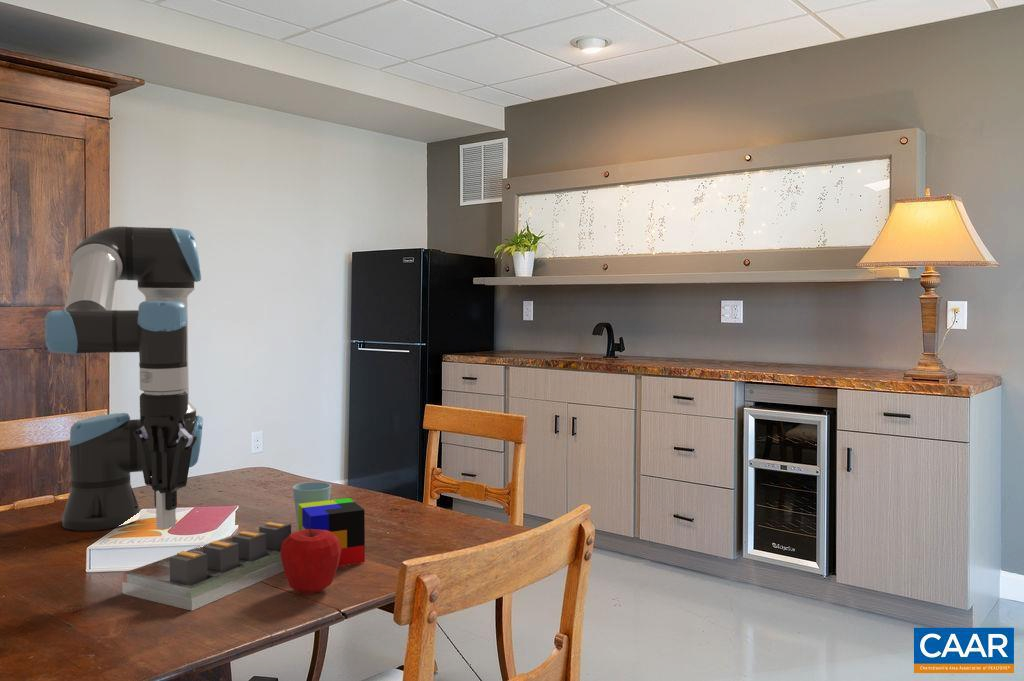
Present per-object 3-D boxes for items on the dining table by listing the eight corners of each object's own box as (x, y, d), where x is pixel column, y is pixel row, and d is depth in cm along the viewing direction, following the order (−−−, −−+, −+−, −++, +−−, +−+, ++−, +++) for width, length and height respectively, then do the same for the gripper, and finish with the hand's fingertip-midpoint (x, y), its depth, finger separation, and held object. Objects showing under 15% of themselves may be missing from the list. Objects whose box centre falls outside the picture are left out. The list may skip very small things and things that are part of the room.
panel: (122, 593, 130) (122, 572, 130) (240, 550, 154) (240, 532, 153) (191, 610, 123) (191, 588, 123) (304, 562, 146) (304, 543, 146)
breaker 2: (203, 575, 133) (202, 544, 132) (221, 568, 136) (221, 538, 136) (220, 579, 131) (220, 548, 131) (238, 572, 135) (238, 541, 134)
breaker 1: (169, 587, 127) (169, 555, 127) (190, 580, 131) (189, 548, 130) (187, 591, 125) (187, 559, 125) (207, 583, 129) (207, 552, 129)
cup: (335, 538, 161) (334, 488, 161) (296, 542, 158) (295, 491, 158) (327, 528, 168) (327, 480, 168) (291, 532, 165) (290, 483, 165)
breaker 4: (259, 553, 144) (259, 525, 144) (274, 547, 148) (274, 520, 148) (276, 557, 143) (275, 528, 142) (291, 550, 146) (291, 522, 146)
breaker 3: (232, 564, 139) (232, 534, 138) (249, 557, 142) (248, 528, 142) (249, 567, 137) (249, 537, 137) (266, 561, 140) (265, 531, 140)
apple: (284, 605, 125) (283, 538, 125) (276, 585, 134) (276, 522, 134) (346, 596, 129) (346, 531, 129) (335, 578, 138) (334, 516, 138)
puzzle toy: (310, 571, 142) (310, 516, 142) (298, 555, 151) (298, 503, 150) (364, 562, 147) (364, 509, 146) (349, 548, 156) (349, 498, 155)
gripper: (118, 391, 133) (121, 527, 135) (172, 397, 128) (174, 539, 129) (156, 386, 140) (158, 516, 142) (208, 391, 134) (210, 527, 136)
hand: (166, 527), depth 136 cm, fingers closed
